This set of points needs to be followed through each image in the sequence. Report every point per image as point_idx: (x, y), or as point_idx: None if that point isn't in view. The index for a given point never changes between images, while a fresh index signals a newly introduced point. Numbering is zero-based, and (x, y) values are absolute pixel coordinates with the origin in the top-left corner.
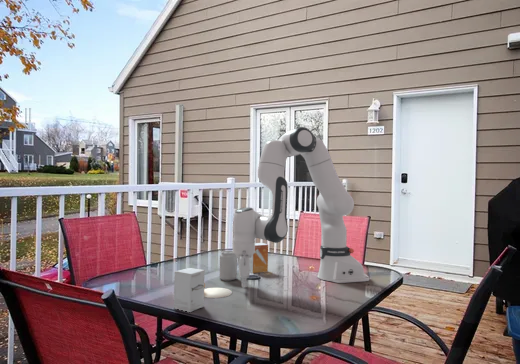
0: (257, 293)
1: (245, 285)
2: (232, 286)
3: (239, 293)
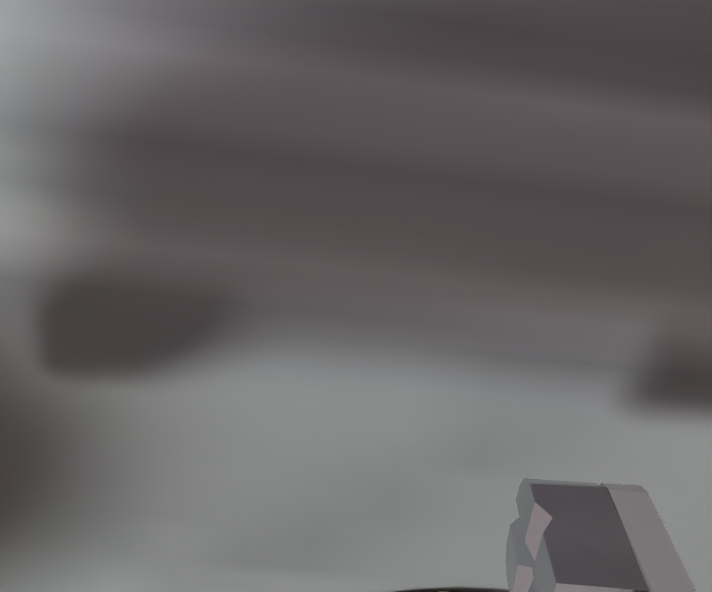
0: (705, 93)
1: (658, 537)
2: (46, 546)
3: None
